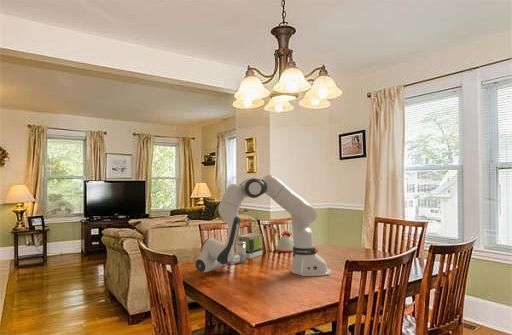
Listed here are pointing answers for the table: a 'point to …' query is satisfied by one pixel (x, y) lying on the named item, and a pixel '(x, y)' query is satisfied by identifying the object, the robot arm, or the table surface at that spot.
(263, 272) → the table surface
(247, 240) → the tea box
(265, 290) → the table surface
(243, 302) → the table surface
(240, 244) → the french press
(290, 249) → the kitchen timer
